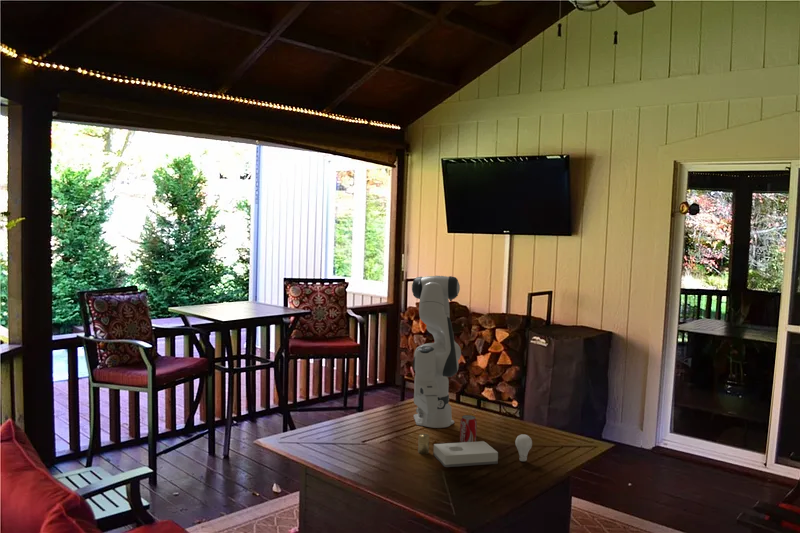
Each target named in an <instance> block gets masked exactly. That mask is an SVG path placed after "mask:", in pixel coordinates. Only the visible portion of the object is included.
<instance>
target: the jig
mask: <svg viewBox="0 0 800 533" xmlns="http://www.w3.org/2000/svg"><path fill="white" fill-rule="evenodd" d="M432 455H433V456H434V457H435V458H436V460H438V461H439V463H440V464H441V465H442V466H443V467H445V468H452V467H453V468H454V467H455V468H456V467H468V466H481V465H485V466H486V465H497V464H498V461H499V452H498V451H497V450H496V449H494V448H493V447H492V446H491V445H489V444H488V443H487V442H485V440H480V441H476V442H461V443H460V442H447V443H433V454H432Z"/></svg>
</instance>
